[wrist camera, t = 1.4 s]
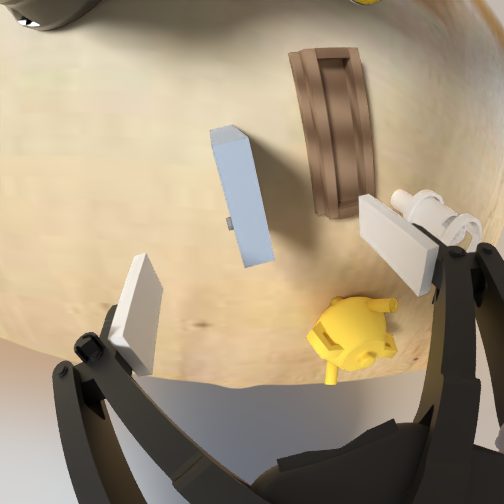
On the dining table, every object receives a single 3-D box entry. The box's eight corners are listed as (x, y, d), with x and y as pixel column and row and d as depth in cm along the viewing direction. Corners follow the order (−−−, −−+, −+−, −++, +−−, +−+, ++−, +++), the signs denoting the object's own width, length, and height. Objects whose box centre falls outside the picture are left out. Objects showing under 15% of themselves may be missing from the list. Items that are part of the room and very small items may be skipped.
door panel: (204, 131, 27) (203, 149, 17) (232, 124, 27) (248, 137, 17) (226, 212, 33) (238, 269, 23) (251, 206, 33) (274, 260, 23)
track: (288, 53, 24) (296, 49, 21) (351, 50, 24) (364, 48, 22) (315, 213, 34) (324, 222, 32) (368, 199, 35) (380, 208, 32)
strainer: (383, 228, 37) (447, 288, 25) (375, 185, 34) (452, 238, 21) (417, 210, 37) (484, 262, 24) (413, 169, 33) (491, 213, 21)
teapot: (325, 256, 38) (361, 308, 29) (404, 277, 44) (439, 317, 34) (273, 350, 47) (288, 402, 38) (349, 353, 53) (370, 395, 43)
